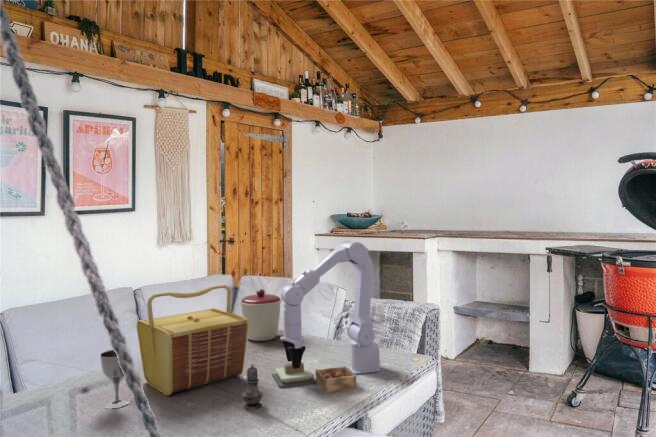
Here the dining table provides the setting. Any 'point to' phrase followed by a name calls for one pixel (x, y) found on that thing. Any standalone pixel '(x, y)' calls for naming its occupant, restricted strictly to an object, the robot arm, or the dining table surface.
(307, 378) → the lid
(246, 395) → the salt shaker
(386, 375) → the dining table surface
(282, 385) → the mat
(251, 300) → the canister
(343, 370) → the box
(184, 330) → the picnic basket
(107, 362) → the wine glass
